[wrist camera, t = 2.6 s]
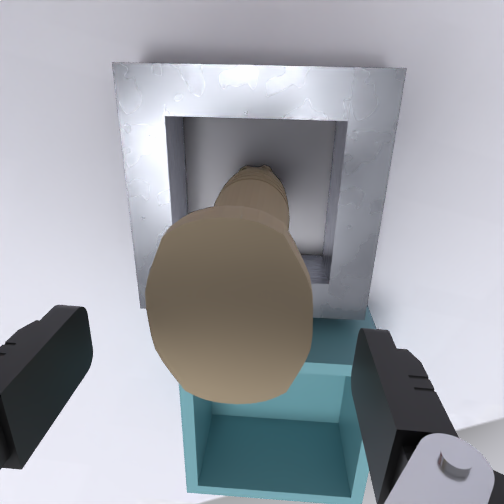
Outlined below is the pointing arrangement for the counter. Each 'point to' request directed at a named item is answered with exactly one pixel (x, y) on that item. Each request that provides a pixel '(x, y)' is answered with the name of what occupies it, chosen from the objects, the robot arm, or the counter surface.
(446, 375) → the counter surface
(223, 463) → the bin
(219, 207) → the handle
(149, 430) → the counter surface
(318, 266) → the socket block
